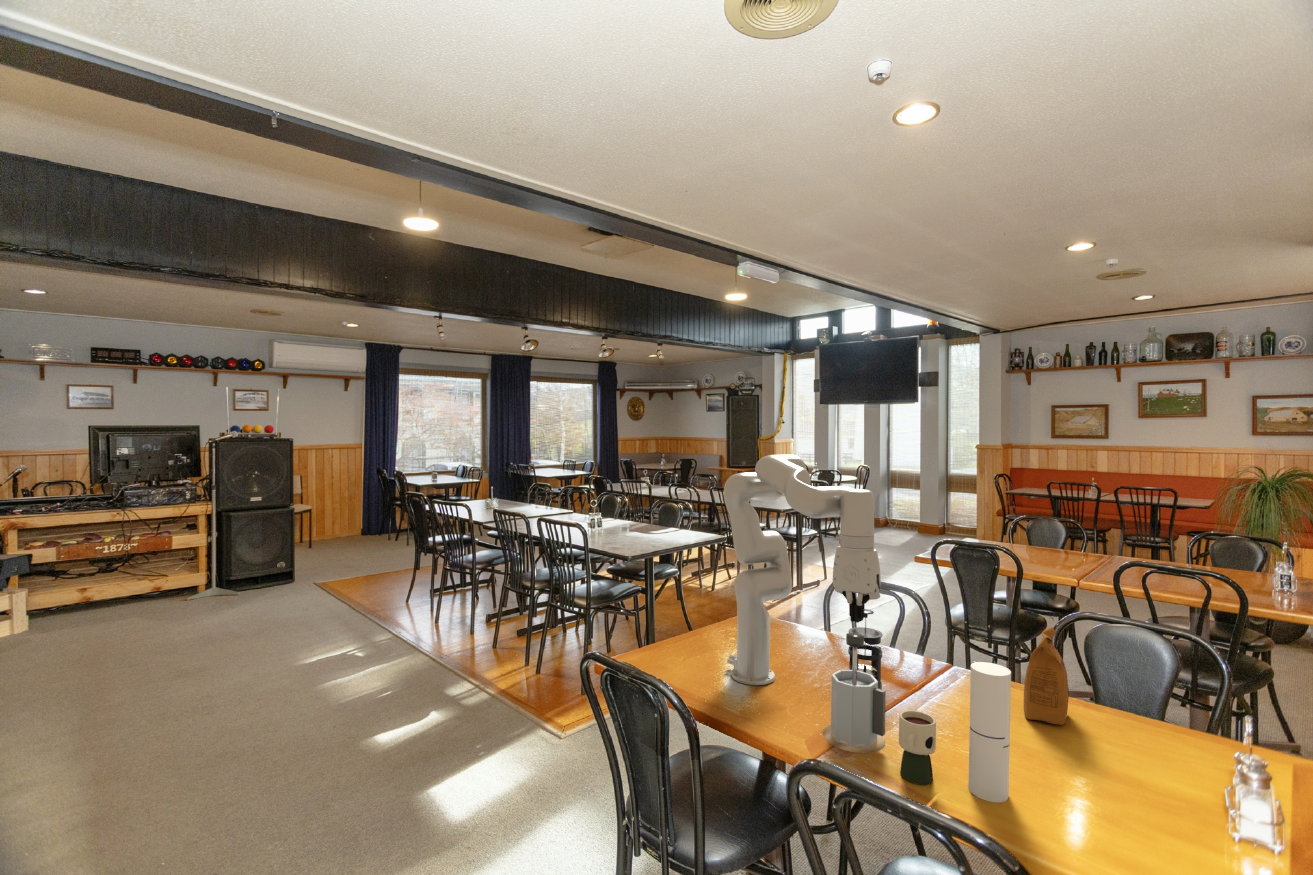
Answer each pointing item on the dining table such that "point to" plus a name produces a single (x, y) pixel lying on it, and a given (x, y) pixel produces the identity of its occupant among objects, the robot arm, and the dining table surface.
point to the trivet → (874, 748)
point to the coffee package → (1046, 683)
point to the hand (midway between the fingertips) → (856, 620)
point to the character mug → (917, 745)
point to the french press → (876, 653)
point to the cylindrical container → (989, 731)
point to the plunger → (854, 657)
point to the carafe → (857, 710)
